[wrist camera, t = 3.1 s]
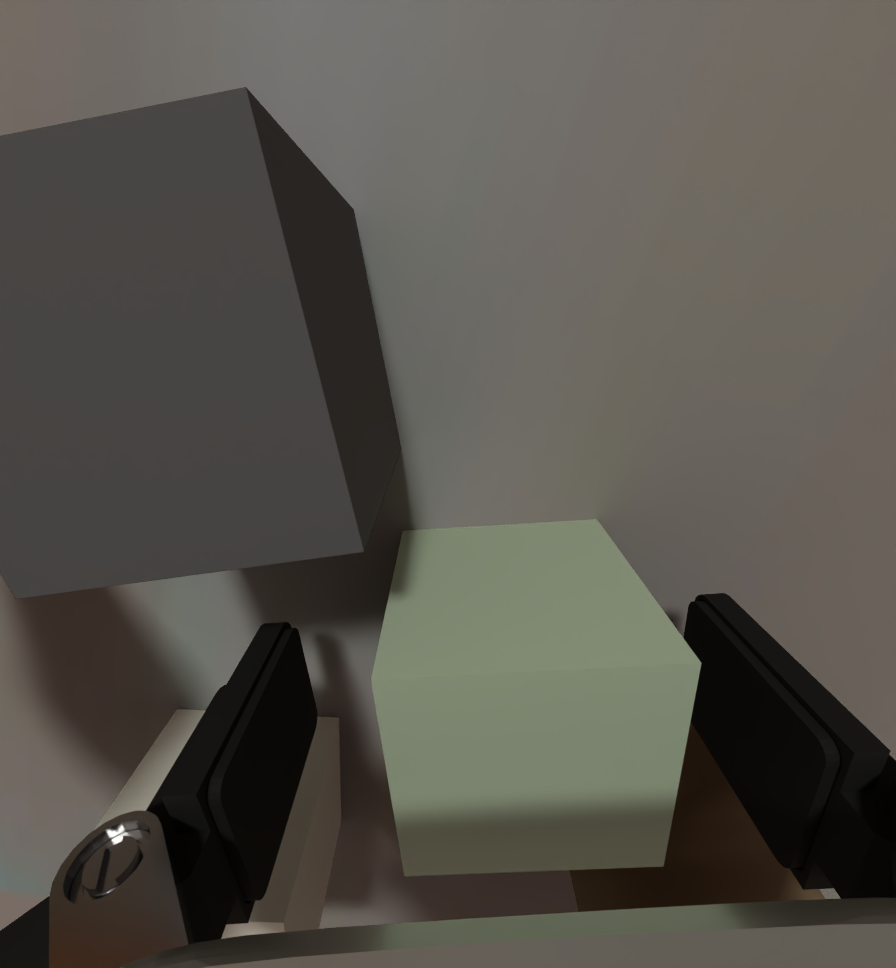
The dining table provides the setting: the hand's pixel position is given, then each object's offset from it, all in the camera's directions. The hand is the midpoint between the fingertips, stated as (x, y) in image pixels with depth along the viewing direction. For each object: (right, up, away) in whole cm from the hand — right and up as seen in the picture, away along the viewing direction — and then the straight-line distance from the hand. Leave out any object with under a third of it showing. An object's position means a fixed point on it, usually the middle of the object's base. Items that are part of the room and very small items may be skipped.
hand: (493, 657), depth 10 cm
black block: (-5, +7, -1) cm, 9 cm away
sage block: (0, +1, +2) cm, 2 cm away
